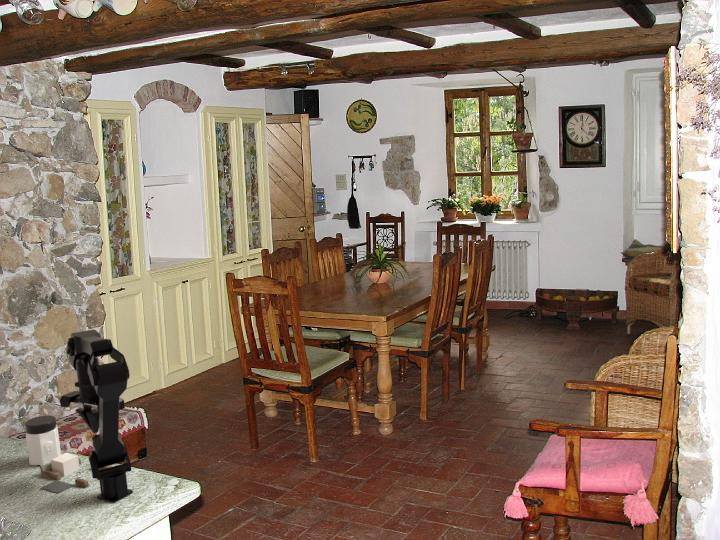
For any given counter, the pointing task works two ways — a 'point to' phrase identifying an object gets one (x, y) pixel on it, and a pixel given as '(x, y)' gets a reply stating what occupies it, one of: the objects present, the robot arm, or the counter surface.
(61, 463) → the block
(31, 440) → the jar
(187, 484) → the counter surface
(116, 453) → the robot arm
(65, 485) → the mat
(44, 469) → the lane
